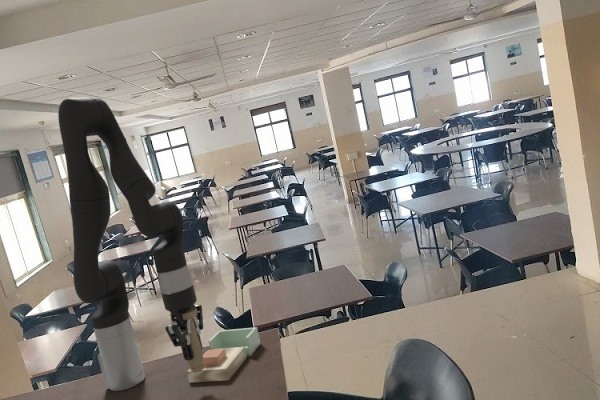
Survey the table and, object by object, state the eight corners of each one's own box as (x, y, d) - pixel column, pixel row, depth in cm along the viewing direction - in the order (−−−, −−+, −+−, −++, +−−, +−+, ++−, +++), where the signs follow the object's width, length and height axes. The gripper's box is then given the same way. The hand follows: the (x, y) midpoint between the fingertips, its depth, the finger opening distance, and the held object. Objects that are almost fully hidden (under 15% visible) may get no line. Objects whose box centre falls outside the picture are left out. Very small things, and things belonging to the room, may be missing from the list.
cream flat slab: (189, 382, 129) (186, 371, 128) (210, 360, 140) (208, 349, 140) (228, 380, 125) (226, 368, 125) (246, 357, 137) (244, 346, 136)
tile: (203, 365, 130) (201, 358, 130) (210, 357, 134) (209, 350, 134) (218, 364, 128) (217, 356, 128) (226, 355, 133) (224, 348, 132)
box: (211, 359, 140) (207, 342, 140) (222, 347, 147) (218, 330, 147) (251, 356, 137) (247, 338, 136) (260, 343, 144) (256, 327, 143)
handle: (203, 374, 119) (188, 314, 117) (181, 375, 122) (166, 316, 120) (214, 364, 124) (199, 306, 122) (192, 365, 126) (178, 308, 124)
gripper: (178, 279, 128) (194, 343, 130) (146, 299, 115) (165, 370, 117) (204, 275, 126) (220, 340, 128) (175, 295, 112) (193, 368, 114)
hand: (194, 354), depth 122 cm, fingers closed on handle, 4 cm apart
